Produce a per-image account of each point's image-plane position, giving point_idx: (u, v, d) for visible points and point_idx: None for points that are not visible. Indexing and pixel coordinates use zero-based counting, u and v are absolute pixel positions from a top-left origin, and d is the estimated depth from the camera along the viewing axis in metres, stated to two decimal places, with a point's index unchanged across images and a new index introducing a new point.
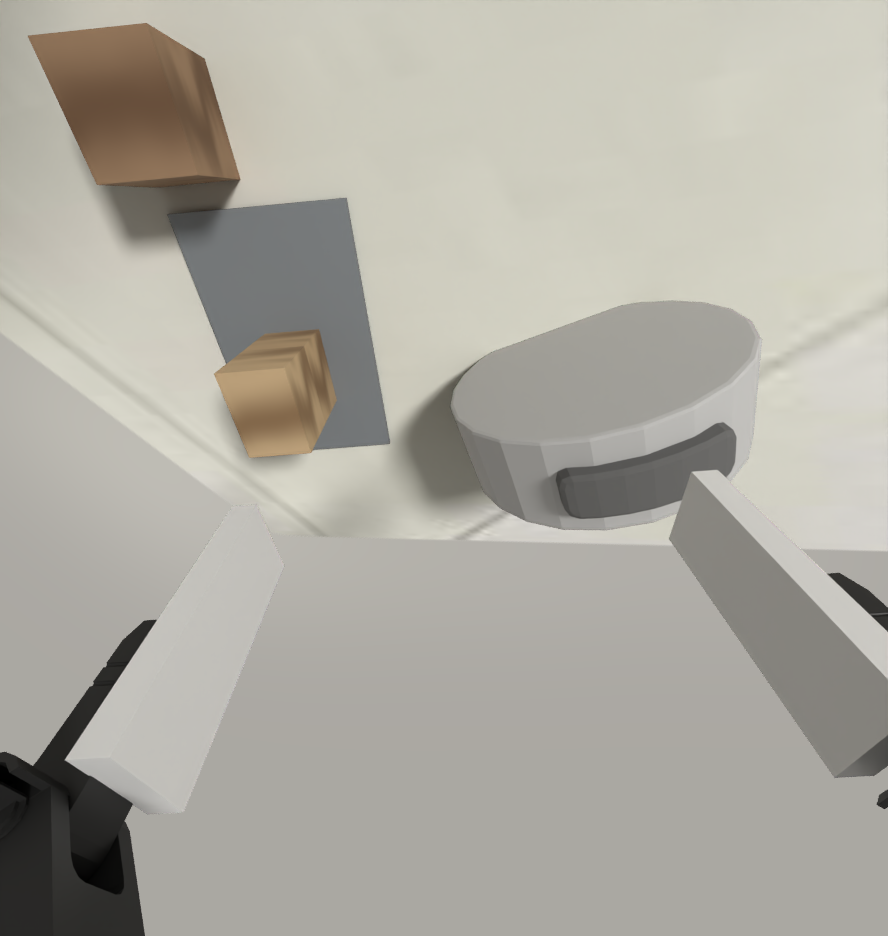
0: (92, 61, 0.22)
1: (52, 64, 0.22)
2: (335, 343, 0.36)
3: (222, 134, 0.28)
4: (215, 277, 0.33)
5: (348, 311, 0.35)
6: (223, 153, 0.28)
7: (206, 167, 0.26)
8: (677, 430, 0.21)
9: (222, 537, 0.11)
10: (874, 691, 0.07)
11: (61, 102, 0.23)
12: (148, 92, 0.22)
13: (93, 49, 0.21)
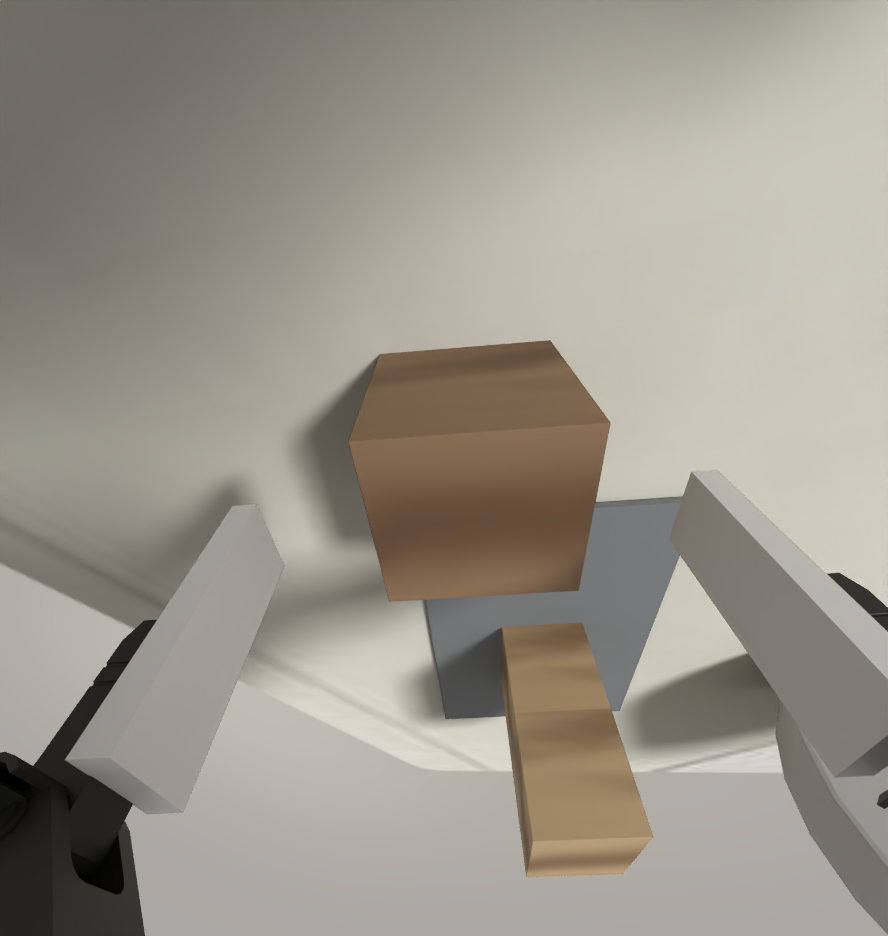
0: (464, 472, 0.10)
1: (380, 475, 0.11)
2: (598, 633, 0.25)
3: None
4: None
5: (633, 606, 0.24)
6: None
7: None
8: None
9: (222, 537, 0.11)
10: (874, 691, 0.07)
11: (373, 519, 0.11)
12: (551, 506, 0.11)
13: (475, 457, 0.10)
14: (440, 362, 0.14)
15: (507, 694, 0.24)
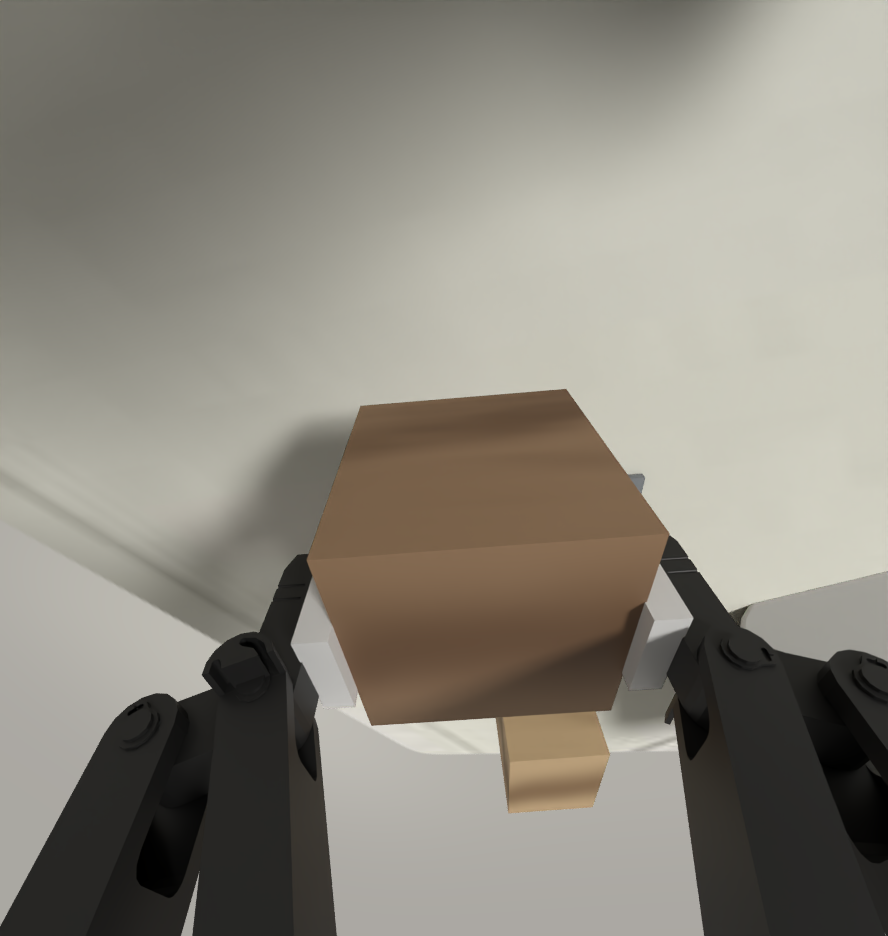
0: (466, 592, 0.08)
1: (353, 597, 0.08)
2: None
3: None
4: None
5: None
6: None
7: None
8: None
9: None
10: None
11: (346, 644, 0.09)
12: (582, 627, 0.08)
13: (482, 575, 0.07)
14: (434, 421, 0.11)
15: None
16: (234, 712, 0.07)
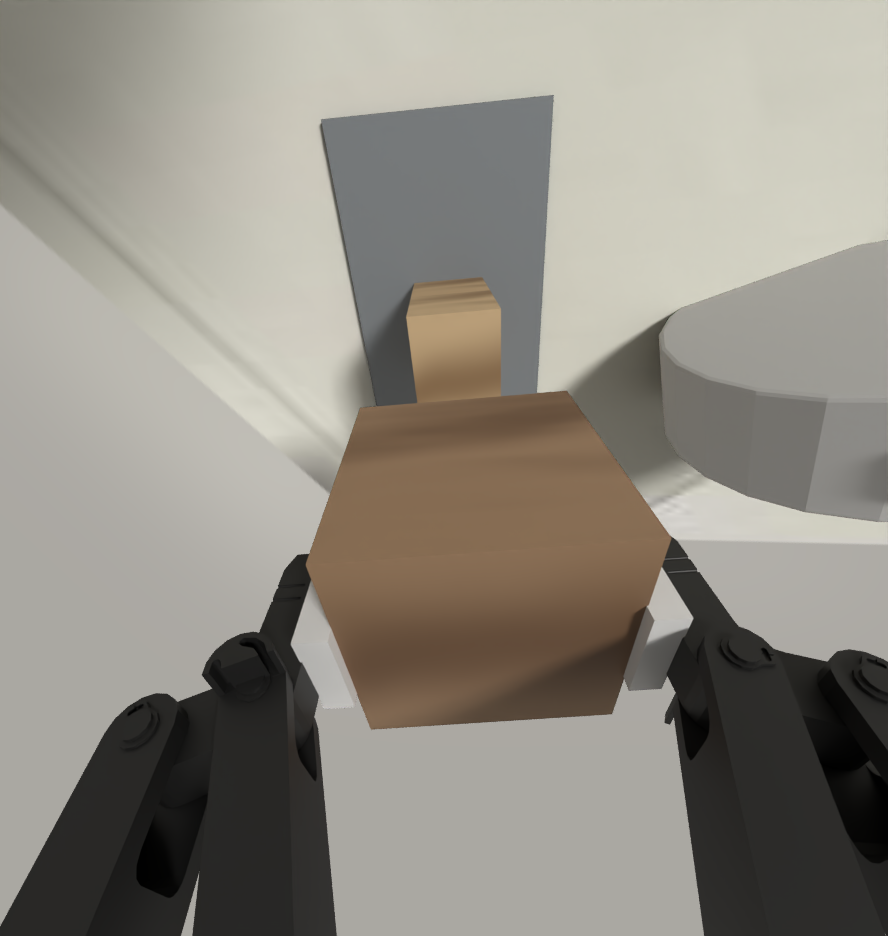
0: (467, 596, 0.08)
1: (352, 602, 0.08)
2: (498, 295, 0.30)
3: None
4: (366, 207, 0.26)
5: (522, 253, 0.28)
6: None
7: None
8: None
9: None
10: None
11: (346, 648, 0.09)
12: (583, 631, 0.08)
13: (483, 579, 0.07)
14: (434, 423, 0.11)
15: None
16: (235, 712, 0.07)
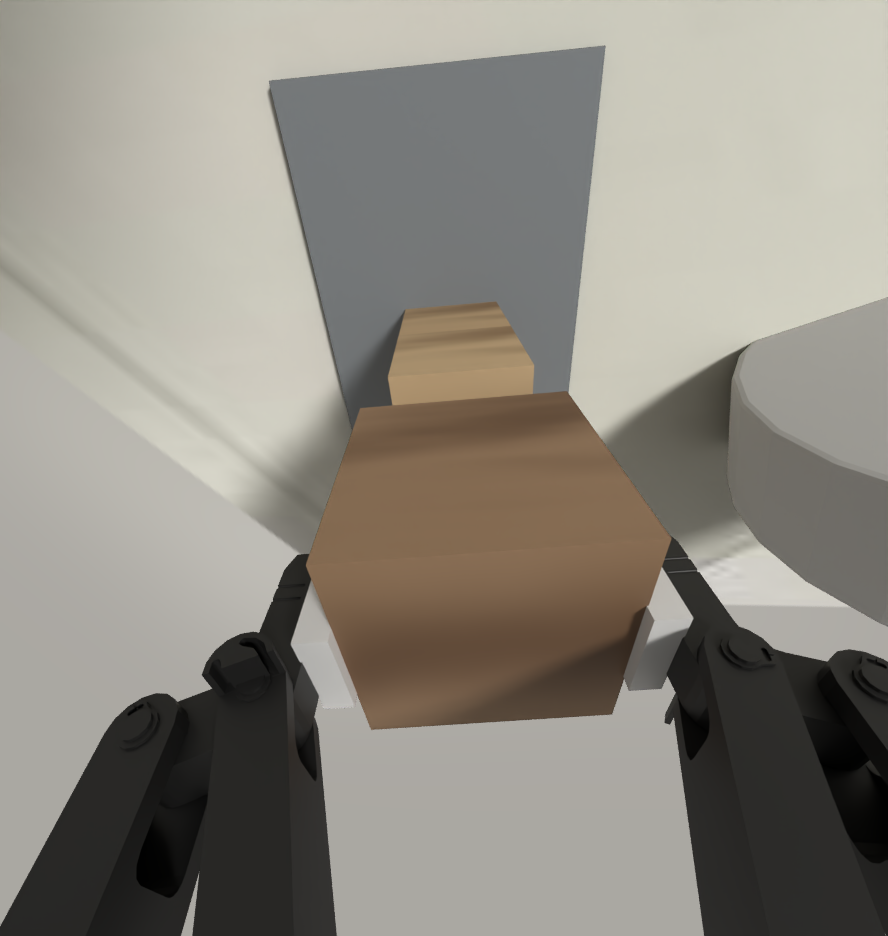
0: (467, 596, 0.08)
1: (352, 602, 0.08)
2: (517, 325, 0.22)
3: None
4: (338, 207, 0.19)
5: (551, 270, 0.21)
6: None
7: None
8: None
9: None
10: None
11: (346, 648, 0.09)
12: (583, 631, 0.08)
13: (483, 580, 0.07)
14: (434, 423, 0.11)
15: None
16: (234, 712, 0.07)
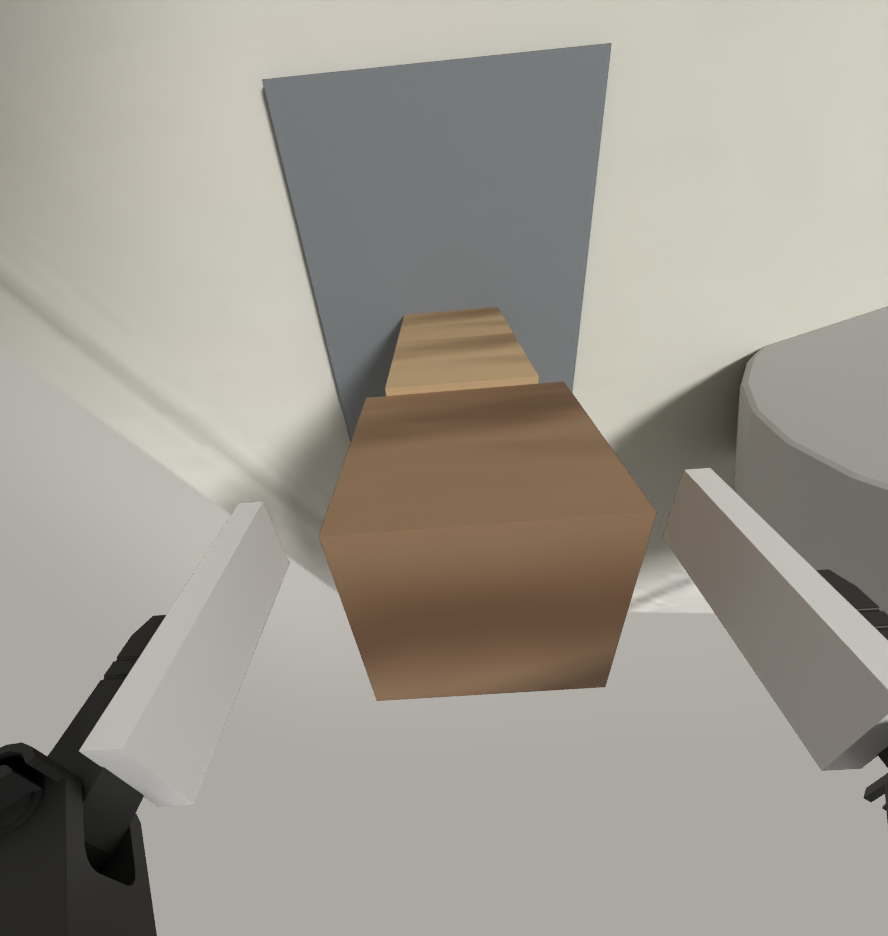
0: (468, 568, 0.08)
1: (361, 573, 0.08)
2: (519, 331, 0.22)
3: None
4: (334, 210, 0.18)
5: (554, 274, 0.20)
6: None
7: None
8: None
9: (229, 534, 0.11)
10: (860, 684, 0.07)
11: (354, 619, 0.09)
12: (576, 603, 0.09)
13: (482, 551, 0.08)
14: (437, 411, 0.12)
15: None
16: None
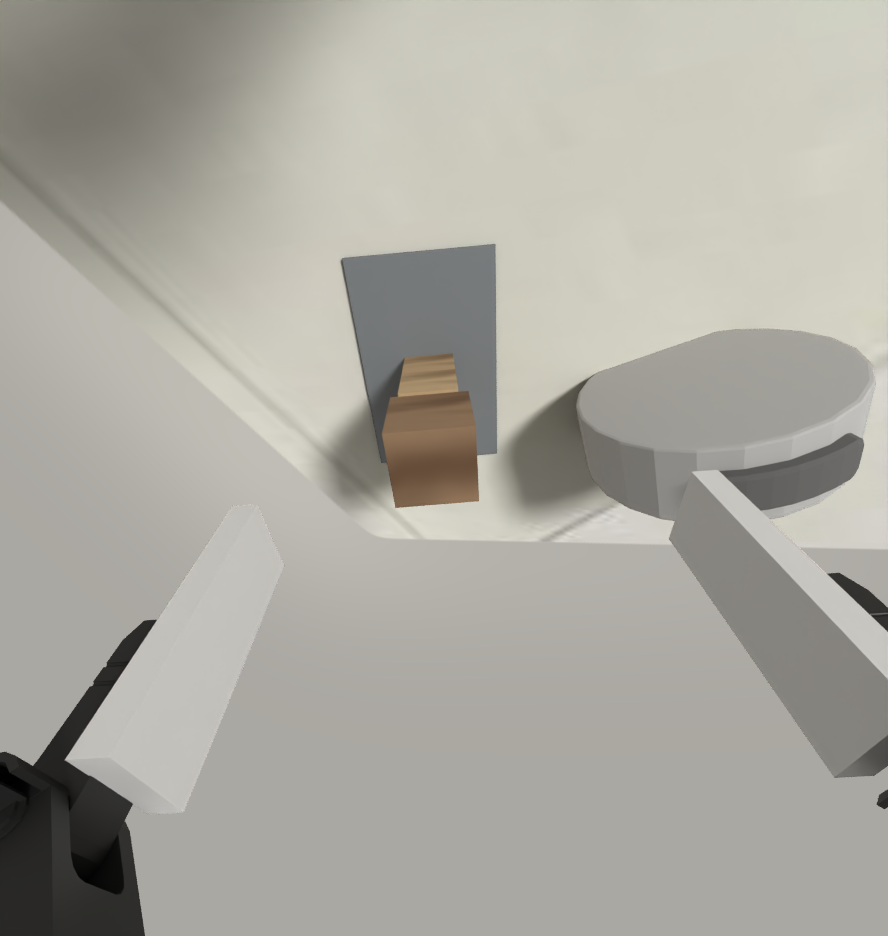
0: (425, 445, 0.28)
1: (393, 447, 0.28)
2: (464, 365, 0.42)
3: None
4: (371, 310, 0.38)
5: (480, 337, 0.40)
6: None
7: None
8: (818, 439, 0.26)
9: (222, 537, 0.11)
10: (874, 691, 0.07)
11: (390, 466, 0.29)
12: (460, 459, 0.29)
13: (428, 439, 0.28)
14: (417, 402, 0.31)
15: None
16: None
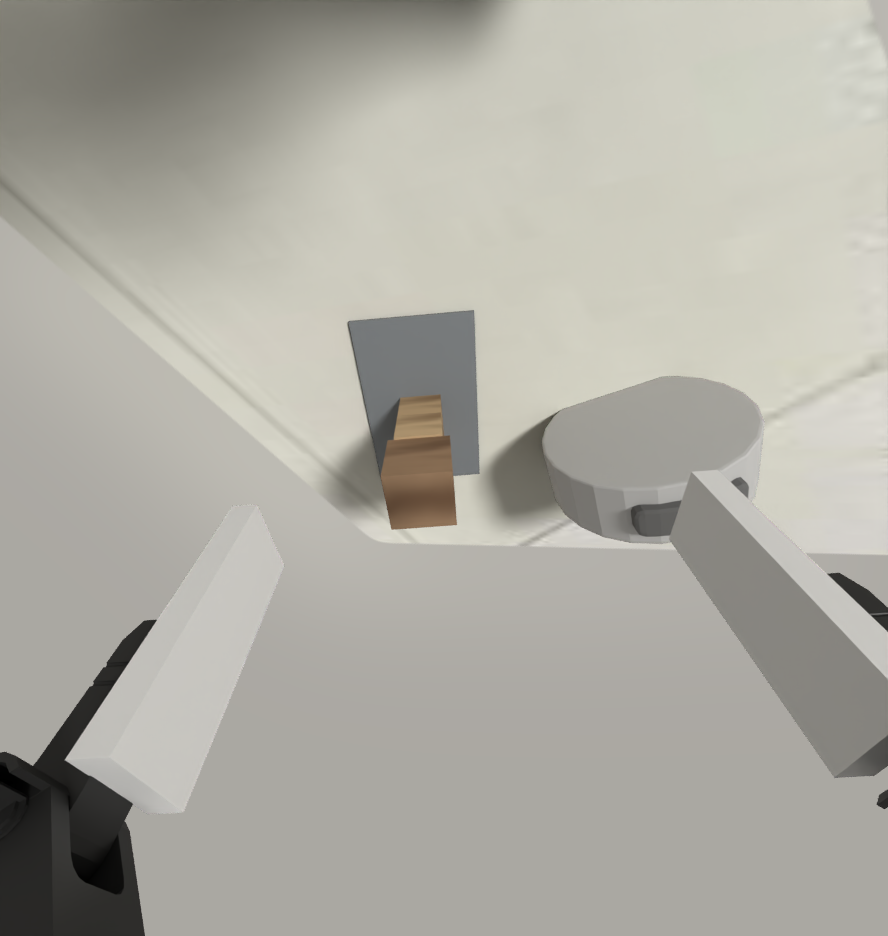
0: (413, 484, 0.36)
1: (389, 486, 0.36)
2: (450, 403, 0.50)
3: None
4: (372, 361, 0.46)
5: (463, 382, 0.48)
6: None
7: None
8: None
9: (222, 537, 0.11)
10: (874, 691, 0.07)
11: (387, 499, 0.37)
12: (441, 495, 0.37)
13: (416, 480, 0.36)
14: (409, 445, 0.40)
15: None
16: None
